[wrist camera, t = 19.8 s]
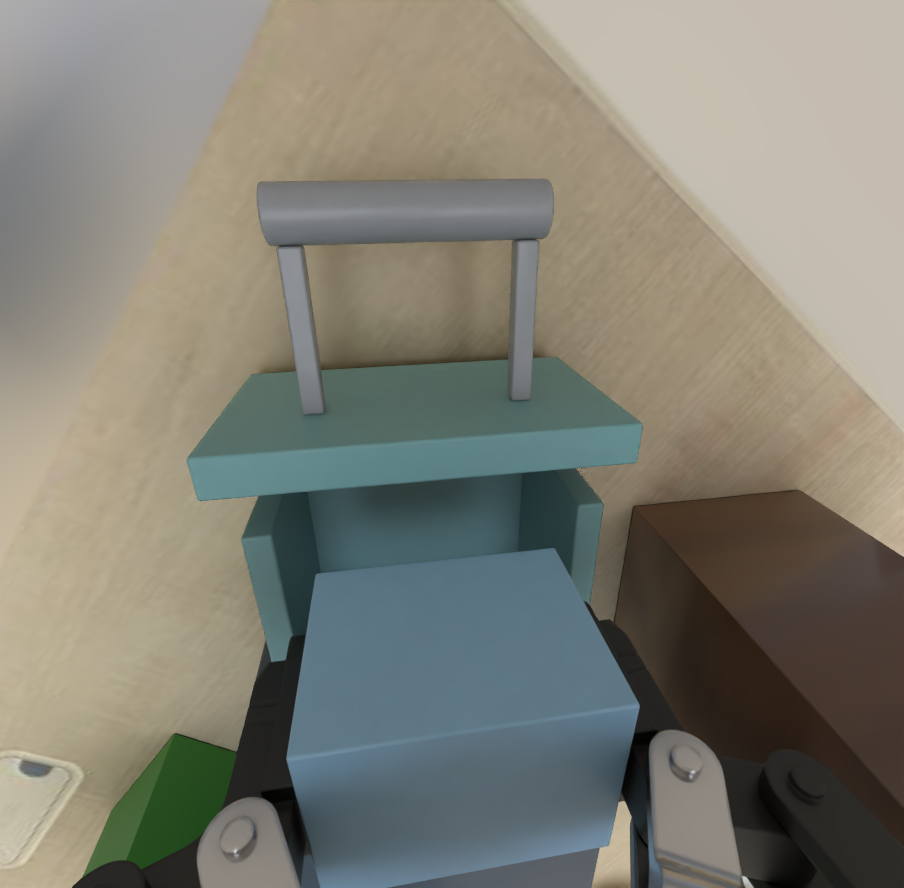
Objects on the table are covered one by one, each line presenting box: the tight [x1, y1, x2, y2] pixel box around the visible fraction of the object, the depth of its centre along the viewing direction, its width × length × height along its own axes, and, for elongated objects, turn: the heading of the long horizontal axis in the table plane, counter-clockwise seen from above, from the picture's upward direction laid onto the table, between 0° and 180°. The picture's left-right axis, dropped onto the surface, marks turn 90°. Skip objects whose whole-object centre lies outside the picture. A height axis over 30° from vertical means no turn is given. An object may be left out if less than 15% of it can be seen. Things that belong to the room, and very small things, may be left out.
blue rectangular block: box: [286, 548, 640, 888], centre depth 11 cm, size 6×4×4 cm
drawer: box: [187, 179, 643, 662], centre depth 17 cm, size 19×11×7 cm, turn 1°
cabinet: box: [235, 641, 599, 888], centre depth 22 cm, size 15×13×9 cm
